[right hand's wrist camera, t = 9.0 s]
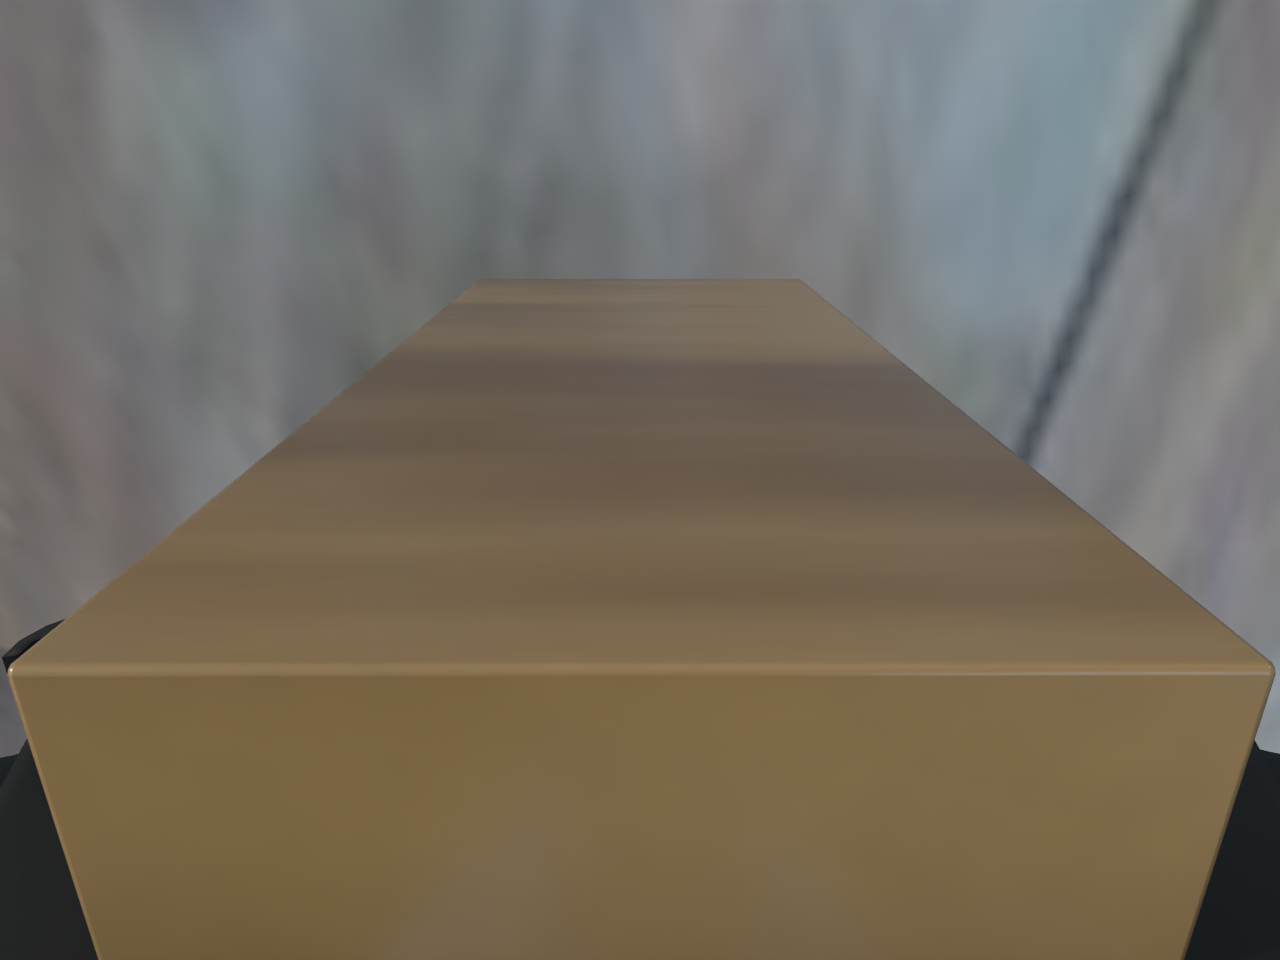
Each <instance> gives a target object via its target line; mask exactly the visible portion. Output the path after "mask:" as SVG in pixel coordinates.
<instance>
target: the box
mask: <svg viewBox="0 0 1280 960" xmlns="http://www.w3.org/2000/svg"><path fill="white" fill-rule="evenodd" d="M7 677H8V680H9V683H10V686H11V689H12V692H13V695H14V698H15V702H16V705H17V708H18V711H19V714H20V717H21V720H22V723H23V726H24V730H25V733H26V736H27V739H28V742H29V745H30V748H31V751H32V754H33V758H34V761H35V764H36V767H37V770H38V773H39V776H40V779H41V782H42V786H43V789H44V792H45V795H46V798H47V801H48V804H49V807H50V810H51V814H52V817H53V820H54V823H55V826H56V829H57V832H58V835H59V838H60V842H61V845H62V848H63V851H64V854H65V857H66V860H67V863H68V866H69V870H70V873H71V876H72V879H73V882H74V885H75V888H76V891H77V894H78V898H79V901H80V904H81V907H82V910H83V913H84V916H85V919H86V922H87V926H88V929H89V932H90V935H91V938H92V941H93V944H94V947H95V950H96V954H97V957H98V960H1184V958H1185V955H1186V952H1187V949H1188V946H1189V943H1190V940H1191V936H1192V933H1193V930H1194V927H1195V924H1196V921H1197V918H1198V915H1199V911H1200V908H1201V905H1202V902H1203V899H1204V896H1205V893H1206V890H1207V886H1208V883H1209V880H1210V877H1211V874H1212V871H1213V868H1214V865H1215V861H1216V858H1217V855H1218V852H1219V849H1220V846H1221V843H1222V840H1223V837H1224V833H1225V830H1226V827H1227V824H1228V821H1229V818H1230V815H1231V812H1232V808H1233V805H1234V802H1235V799H1236V796H1237V793H1238V790H1239V787H1240V783H1241V780H1242V777H1243V774H1244V771H1245V768H1246V765H1247V762H1248V758H1249V755H1250V752H1251V749H1252V746H1253V743H1254V740H1255V737H1256V734H1257V730H1258V727H1259V724H1260V721H1261V718H1262V715H1263V712H1264V709H1265V705H1266V702H1267V699H1268V696H1269V693H1270V690H1271V687H1272V684H1273V680H1274V677H1275V667H1274V665H1273V664H1272V662H1271V661H1269V660H1268V659H1267V658H1266V657H1265V656H1263V655H1262V654H1261V653H1260V652H1258V651H1257V650H1256V649H1255V648H1253V647H1252V646H1251V645H1250V644H1249V643H1247V642H1246V641H1245V640H1244V639H1242V638H1241V637H1240V636H1239V635H1237V634H1236V633H1235V632H1234V631H1233V630H1231V629H1230V628H1229V627H1228V626H1226V625H1225V624H1224V623H1223V622H1221V621H1220V620H1219V619H1218V618H1216V617H1215V616H1214V615H1213V614H1212V613H1210V612H1209V611H1208V610H1207V609H1205V608H1204V607H1203V606H1202V605H1200V604H1199V603H1198V602H1197V601H1196V600H1194V599H1193V598H1192V597H1191V596H1189V595H1188V594H1187V593H1186V592H1184V591H1183V590H1182V589H1181V588H1180V587H1178V586H1177V585H1176V584H1175V583H1173V582H1172V581H1171V580H1170V579H1168V578H1167V577H1166V576H1165V575H1164V574H1162V573H1161V572H1160V571H1159V570H1157V569H1156V568H1155V567H1154V566H1152V565H1151V564H1150V563H1149V562H1148V561H1146V560H1145V559H1144V558H1143V557H1141V556H1140V555H1139V554H1138V553H1136V552H1135V551H1134V550H1133V549H1132V548H1130V547H1129V546H1128V545H1127V544H1125V543H1124V542H1123V541H1122V540H1120V539H1119V538H1118V537H1117V536H1115V535H1114V534H1113V533H1112V532H1111V531H1109V530H1108V529H1107V528H1106V527H1104V526H1103V525H1102V524H1101V523H1099V522H1098V521H1097V520H1096V519H1095V518H1093V517H1092V516H1091V515H1090V514H1088V513H1087V512H1086V511H1085V510H1083V509H1082V508H1081V507H1080V506H1079V505H1077V504H1076V503H1075V502H1074V501H1072V500H1071V499H1070V498H1069V497H1067V496H1066V495H1065V494H1064V493H1063V492H1061V491H1060V490H1059V489H1058V488H1056V487H1055V486H1054V485H1053V484H1051V483H1050V482H1049V481H1048V480H1047V479H1045V478H1044V477H1043V476H1042V475H1040V474H1039V473H1038V472H1037V471H1035V470H1034V469H1033V468H1032V467H1030V466H1029V465H1028V464H1027V463H1026V462H1024V461H1023V460H1022V459H1021V458H1019V457H1018V456H1017V455H1016V454H1014V453H1013V452H1012V451H1011V450H1010V449H1008V448H1007V447H1006V446H1005V445H1003V444H1002V443H1001V442H1000V441H998V440H997V439H996V438H995V437H994V436H992V435H991V434H990V433H989V432H987V431H986V430H985V429H984V428H982V427H981V426H980V425H979V424H978V423H976V422H975V421H974V420H973V419H971V418H970V417H969V416H968V415H966V414H965V413H964V412H963V411H962V410H960V409H959V408H958V407H957V406H955V405H954V404H953V403H952V402H950V401H949V400H948V399H947V398H946V397H944V396H943V395H942V394H941V393H939V392H938V391H937V390H936V389H934V388H933V387H932V386H931V385H929V384H928V383H927V382H926V381H925V380H923V379H922V378H921V377H920V376H918V375H917V374H916V373H915V372H913V371H912V370H911V369H910V368H909V367H907V366H906V365H905V364H904V363H902V362H901V361H900V360H899V359H897V358H896V357H895V356H894V355H893V354H891V353H890V352H889V351H888V350H886V349H885V348H884V347H883V346H881V345H880V344H879V343H878V342H877V341H875V340H874V339H873V338H872V337H870V336H869V335H868V334H867V333H865V332H864V331H863V330H862V329H861V328H859V327H858V326H857V325H856V324H854V323H853V322H852V321H851V320H849V319H848V318H847V317H846V316H845V315H843V314H842V313H841V312H840V311H838V310H837V309H836V308H835V307H833V306H832V305H831V304H830V303H828V302H827V301H826V300H825V299H824V298H822V297H821V296H820V295H819V294H817V293H816V292H815V291H814V290H812V289H811V288H810V287H809V286H808V285H806V284H805V283H804V282H803V281H801V280H799V279H561V280H479V281H477V282H476V283H475V284H474V285H472V286H471V287H470V288H469V289H468V290H466V291H465V292H464V293H463V294H461V295H460V296H459V297H458V298H457V299H455V300H454V301H453V302H452V303H450V304H449V305H448V306H447V307H446V308H444V309H443V310H442V311H441V312H439V313H438V314H437V315H436V316H435V317H433V318H432V319H431V320H430V321H429V322H427V323H426V324H425V325H424V326H422V327H421V328H420V329H419V330H418V331H416V332H415V333H414V334H413V335H411V336H410V337H409V338H408V339H407V340H405V341H404V342H403V343H402V344H400V345H399V346H398V347H397V348H396V349H394V350H393V351H392V352H391V353H390V354H388V355H387V356H386V357H385V358H383V359H382V360H381V361H380V362H379V363H377V364H376V365H375V366H374V367H372V368H371V369H370V370H369V371H368V372H366V373H365V374H364V375H363V376H361V377H360V378H359V379H358V380H357V381H355V382H354V383H353V384H352V385H351V386H349V387H348V388H347V389H346V390H344V391H343V392H342V393H341V394H340V395H338V396H337V397H336V398H335V399H333V400H332V401H331V402H330V403H329V404H327V405H326V406H325V407H324V408H322V409H321V410H320V411H319V412H318V413H316V414H315V415H314V416H313V417H312V418H310V419H309V420H308V421H307V422H305V423H304V424H303V425H302V426H301V427H299V428H298V429H297V430H296V431H294V432H293V433H292V434H291V435H290V436H288V437H287V438H286V439H285V440H283V441H282V442H281V443H280V444H279V445H277V446H276V447H275V448H274V449H272V450H271V451H270V452H269V453H268V454H266V455H265V456H264V457H263V458H262V459H260V460H259V461H258V462H257V463H255V464H254V465H253V466H252V467H251V468H249V469H248V470H247V471H246V472H244V473H243V474H242V475H241V476H240V477H238V478H237V479H236V480H235V481H233V482H232V483H231V484H230V485H229V486H227V487H226V488H225V489H224V490H223V491H221V492H220V493H219V494H218V495H216V496H215V497H214V498H213V499H212V500H210V501H209V502H208V503H207V504H205V505H204V506H203V507H202V508H201V509H199V510H198V511H197V512H196V513H194V514H193V515H192V516H191V517H190V518H188V519H187V520H186V521H185V522H184V523H182V524H181V525H180V526H179V527H177V528H176V529H175V530H174V531H173V532H171V533H170V534H169V535H168V536H166V537H165V538H164V539H163V540H162V541H160V542H159V543H158V544H157V545H155V546H154V547H153V548H152V549H151V550H149V551H148V552H147V553H146V554H145V555H143V556H142V557H141V558H140V559H138V560H137V561H136V562H135V563H134V564H132V565H131V566H130V567H129V568H127V569H126V570H125V571H124V572H123V573H121V574H120V575H119V576H118V577H116V578H115V579H114V580H113V581H112V582H110V583H109V584H108V585H107V586H105V587H104V588H103V589H102V590H101V591H99V592H98V593H97V594H96V595H95V596H93V597H92V598H91V599H90V600H88V601H87V602H86V603H85V604H84V605H82V606H81V607H80V608H79V609H77V610H76V611H75V612H74V613H73V614H71V615H70V616H69V617H68V618H66V619H65V620H64V621H63V622H62V623H60V624H59V625H58V626H57V627H56V628H54V629H53V630H52V631H51V632H49V633H48V634H47V635H46V636H45V637H43V638H42V639H41V640H40V641H38V642H37V643H36V644H35V645H34V646H32V647H31V648H30V649H29V650H27V651H26V652H25V653H24V654H23V655H21V656H20V657H19V658H18V659H17V660H15V661H14V662H13V663H12V664H11V665H10V667H9V669H8V674H7Z"/></svg>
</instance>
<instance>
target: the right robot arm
mask: <svg viewBox="0 0 1280 960" xmlns="http://www.w3.org/2000/svg"><path fill="white" fill-rule="evenodd" d="M64 620H65V619H64ZM64 620H61V621H58V622H56V623H53V624H50V625H47V626H45V627H43V628H42V629H40V630H38V631H36V632H34V633H33V634H31V635H29V636H27V637H25V638H24V639H22V640H20V641H19V642H18V643H17V644H15V645H14V646H13V647H12V648H11V649H10V650H9V651H8V652H7V653H6V654H5V655H4V656H3V657H2V659H3V662H4V665H5V668H6V671H7V674H8V669H9V667H10V665H11V664H12V663H13V662H14V661H15V660H17V659H18V658H19V657H20V656H21V655H23V654H24V653H25V652H26V651H27V650H29V649H30V648H31V647H32V646H34V645H35V644H36V643H37V642H38V641H40V640H41V639H42V638H43V637H45V636H46V635H47V634H48V633H49V632H51V631H52V630H53V629H54V628H56V627H57V626H58V625H59V624H60V623H62V622H63V621H64ZM0 960H98V957H97V954H96V950H95V947H94V944H93V941H92V938H91V935H90V932H89V929H88V926H87V922H86V919H85V916H84V913H83V910H82V907H81V904H80V901H79V898H78V894H77V891H76V888H75V885H74V882H73V879H72V876H71V873H70V870H69V866H68V863H67V860H66V857H65V854H64V851H63V848H62V845H61V842H60V838H59V835H58V832H57V829H56V826H55V823H54V820H53V817H52V814H51V810H50V807H49V804H48V801H47V798H46V795H45V792H44V789H43V786H42V782H41V779H40V776H39V773H38V770H37V767H36V764H35V761H34V758H33V754H32V751H31V748H30V745H29V742H28V739H27V740H26V742H25V743H24V745H23V747H22V749H21V751H20V753H19V754H16V755H12V756H8V757H2V758H0ZM1184 960H1280V754H1278V753H1273V752H1268V751H1264V750H1260V749H1259V747H1258V745H1257V744H1256V742H1255V740H1254V743H1253V746H1252V749H1251V752H1250V755H1249V758H1248V762H1247V765H1246V768H1245V771H1244V774H1243V777H1242V780H1241V783H1240V787H1239V790H1238V793H1237V796H1236V799H1235V802H1234V805H1233V808H1232V812H1231V815H1230V818H1229V821H1228V824H1227V827H1226V830H1225V833H1224V837H1223V840H1222V843H1221V846H1220V849H1219V852H1218V855H1217V858H1216V861H1215V865H1214V868H1213V871H1212V874H1211V877H1210V880H1209V883H1208V886H1207V890H1206V893H1205V896H1204V899H1203V902H1202V905H1201V908H1200V911H1199V915H1198V918H1197V921H1196V924H1195V927H1194V930H1193V933H1192V936H1191V940H1190V943H1189V946H1188V949H1187V952H1186V955H1185V958H1184Z"/></svg>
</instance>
